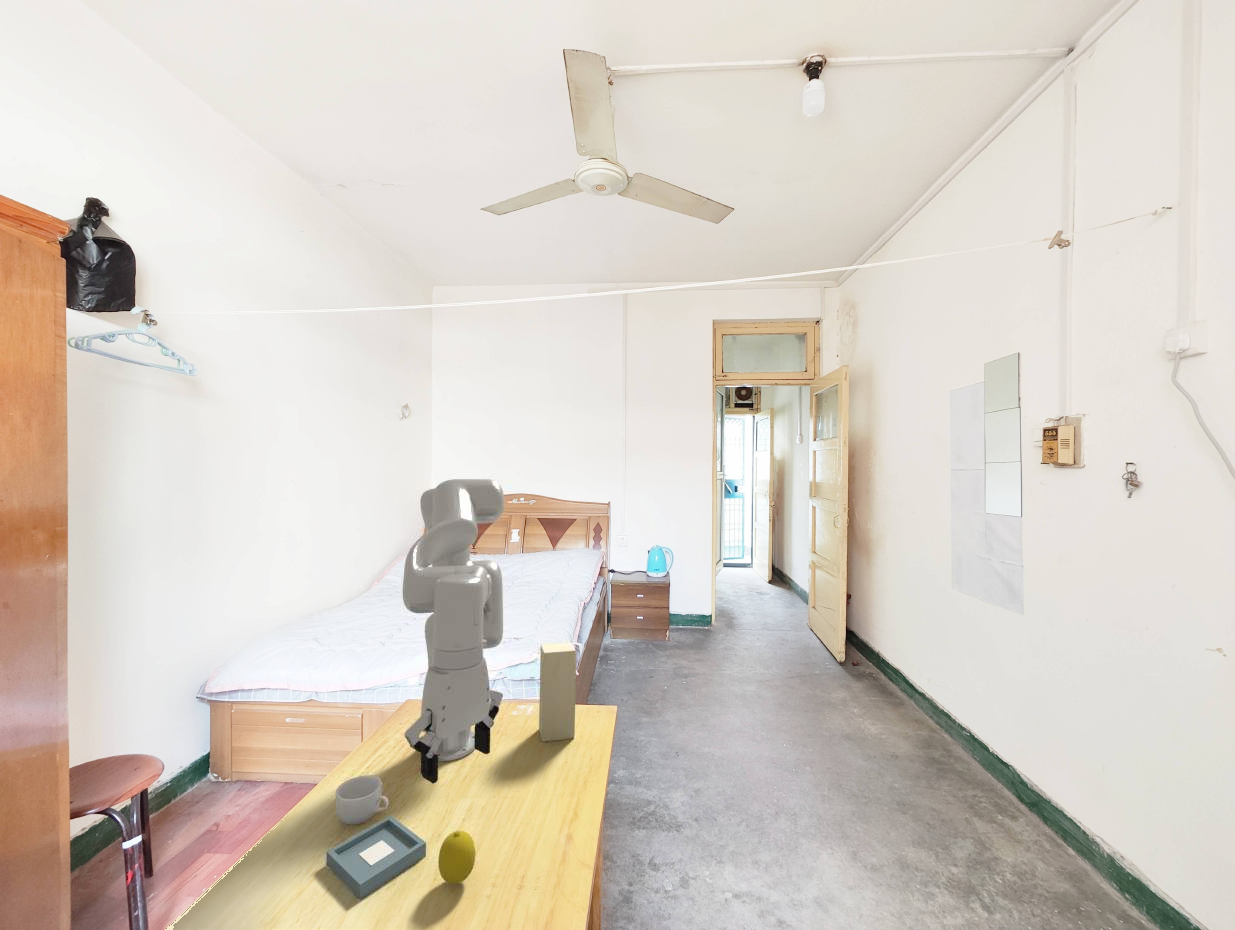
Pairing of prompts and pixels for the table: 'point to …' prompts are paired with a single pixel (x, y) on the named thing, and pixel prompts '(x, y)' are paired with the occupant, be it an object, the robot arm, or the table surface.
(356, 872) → the tray
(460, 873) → the lemon
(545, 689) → the beige rectangular block
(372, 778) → the teacup
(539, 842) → the table surface
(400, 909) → the table surface
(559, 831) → the table surface
